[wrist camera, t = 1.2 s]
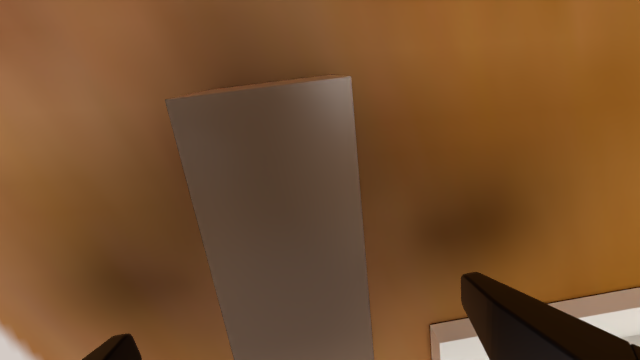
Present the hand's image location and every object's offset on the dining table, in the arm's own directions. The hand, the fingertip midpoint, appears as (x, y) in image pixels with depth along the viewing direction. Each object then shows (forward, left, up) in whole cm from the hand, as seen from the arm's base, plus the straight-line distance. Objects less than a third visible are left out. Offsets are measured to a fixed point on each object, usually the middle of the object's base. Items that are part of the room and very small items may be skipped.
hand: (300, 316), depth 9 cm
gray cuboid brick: (0, 0, -4) cm, 4 cm away
